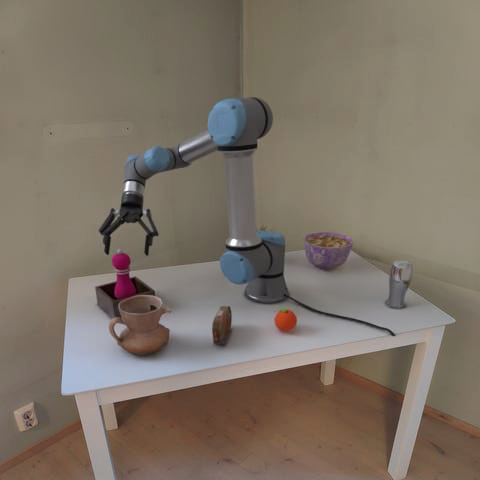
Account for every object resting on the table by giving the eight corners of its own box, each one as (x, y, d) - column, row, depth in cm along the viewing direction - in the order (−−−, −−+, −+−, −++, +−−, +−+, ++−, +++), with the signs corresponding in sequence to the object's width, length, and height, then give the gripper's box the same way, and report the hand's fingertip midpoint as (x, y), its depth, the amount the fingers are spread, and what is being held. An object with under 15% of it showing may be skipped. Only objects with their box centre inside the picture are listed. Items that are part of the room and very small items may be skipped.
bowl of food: (310, 277, 178) (313, 249, 173) (295, 259, 195) (297, 233, 190) (358, 273, 182) (362, 246, 176) (338, 256, 199) (341, 230, 193)
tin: (221, 350, 132) (221, 325, 128) (211, 349, 132) (210, 324, 128) (232, 325, 145) (232, 301, 141) (223, 324, 145) (222, 300, 141)
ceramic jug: (167, 329, 142) (163, 288, 135) (180, 352, 131) (176, 309, 124) (108, 341, 136) (101, 298, 129) (117, 366, 125) (109, 321, 118)
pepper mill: (127, 311, 151) (119, 254, 142) (111, 305, 155) (103, 250, 145) (141, 302, 157) (135, 247, 147) (126, 297, 160) (119, 243, 150)
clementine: (267, 329, 142) (267, 309, 139) (279, 321, 147) (280, 301, 144) (287, 338, 138) (289, 317, 134) (300, 329, 143) (302, 309, 139)
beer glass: (409, 304, 158) (417, 264, 151) (400, 311, 154) (408, 270, 146) (390, 298, 162) (397, 258, 155) (381, 304, 158) (388, 264, 151)
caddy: (156, 308, 155) (155, 290, 151) (115, 321, 147) (112, 302, 144) (137, 293, 165) (135, 276, 162) (97, 304, 157) (94, 286, 154)
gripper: (170, 204, 162) (165, 258, 156) (101, 203, 163) (93, 257, 157) (165, 192, 155) (160, 249, 149) (94, 191, 156) (86, 248, 150)
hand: (126, 253), depth 153 cm, fingers open, 13 cm apart
